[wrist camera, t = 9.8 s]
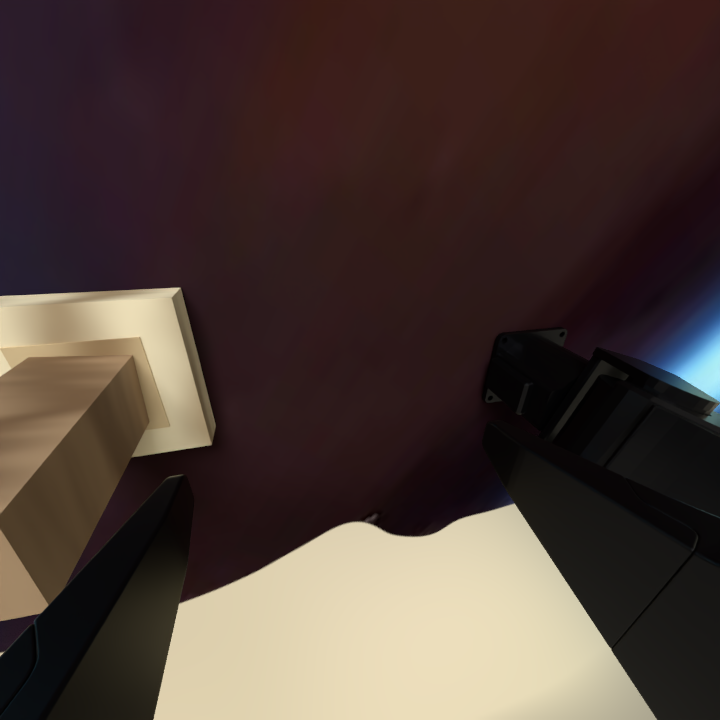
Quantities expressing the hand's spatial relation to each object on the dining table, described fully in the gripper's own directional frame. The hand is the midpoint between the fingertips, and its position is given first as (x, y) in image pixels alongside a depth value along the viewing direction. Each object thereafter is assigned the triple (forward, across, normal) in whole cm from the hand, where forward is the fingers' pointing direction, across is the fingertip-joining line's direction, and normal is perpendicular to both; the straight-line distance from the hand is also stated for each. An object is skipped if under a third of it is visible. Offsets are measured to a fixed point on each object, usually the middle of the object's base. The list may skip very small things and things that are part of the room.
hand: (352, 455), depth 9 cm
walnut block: (+11, +12, +3) cm, 16 cm away
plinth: (+13, +12, +3) cm, 18 cm away
